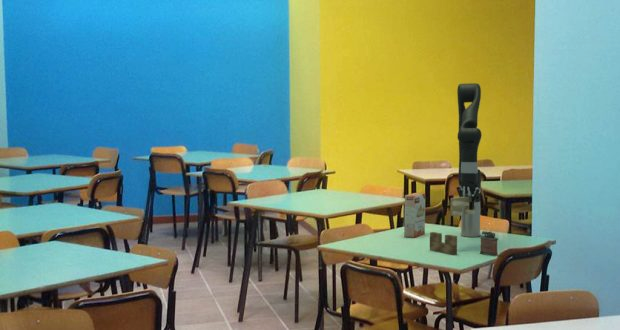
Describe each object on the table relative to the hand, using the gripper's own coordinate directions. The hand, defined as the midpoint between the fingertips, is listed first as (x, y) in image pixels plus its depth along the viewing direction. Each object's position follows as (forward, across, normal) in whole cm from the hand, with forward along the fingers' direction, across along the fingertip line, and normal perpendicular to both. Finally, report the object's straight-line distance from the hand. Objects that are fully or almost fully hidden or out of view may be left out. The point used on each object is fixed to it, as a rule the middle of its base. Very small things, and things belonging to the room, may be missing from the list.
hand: (468, 209), depth 347 cm
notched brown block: (+17, +2, -19) cm, 26 cm away
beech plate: (+2, 0, -4) cm, 5 cm away
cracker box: (+17, -36, +2) cm, 40 cm away
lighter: (+17, +18, -8) cm, 26 cm away
